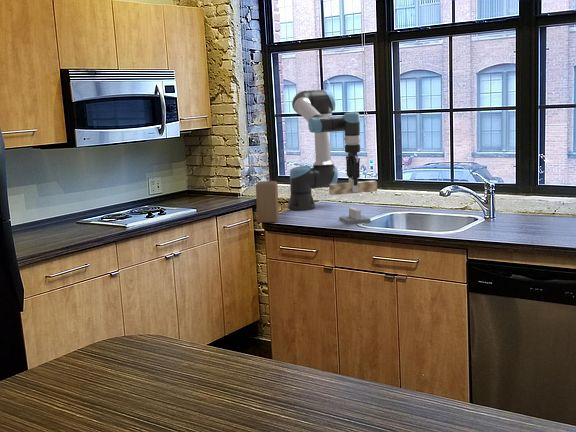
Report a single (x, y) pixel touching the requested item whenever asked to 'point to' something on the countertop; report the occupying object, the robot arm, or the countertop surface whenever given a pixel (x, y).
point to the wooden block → (267, 201)
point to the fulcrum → (354, 217)
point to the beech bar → (347, 187)
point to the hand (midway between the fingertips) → (353, 191)
